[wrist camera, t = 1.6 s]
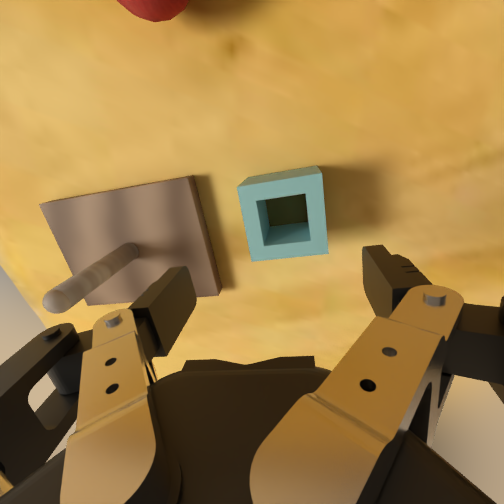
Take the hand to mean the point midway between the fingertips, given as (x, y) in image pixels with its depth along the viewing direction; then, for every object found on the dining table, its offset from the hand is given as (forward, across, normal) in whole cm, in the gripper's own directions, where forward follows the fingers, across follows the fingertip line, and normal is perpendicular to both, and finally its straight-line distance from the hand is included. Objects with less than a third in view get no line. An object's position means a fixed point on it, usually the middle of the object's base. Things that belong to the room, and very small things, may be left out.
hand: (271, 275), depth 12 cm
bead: (+13, 0, 0) cm, 13 cm away
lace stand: (+14, +16, +2) cm, 21 cm away
